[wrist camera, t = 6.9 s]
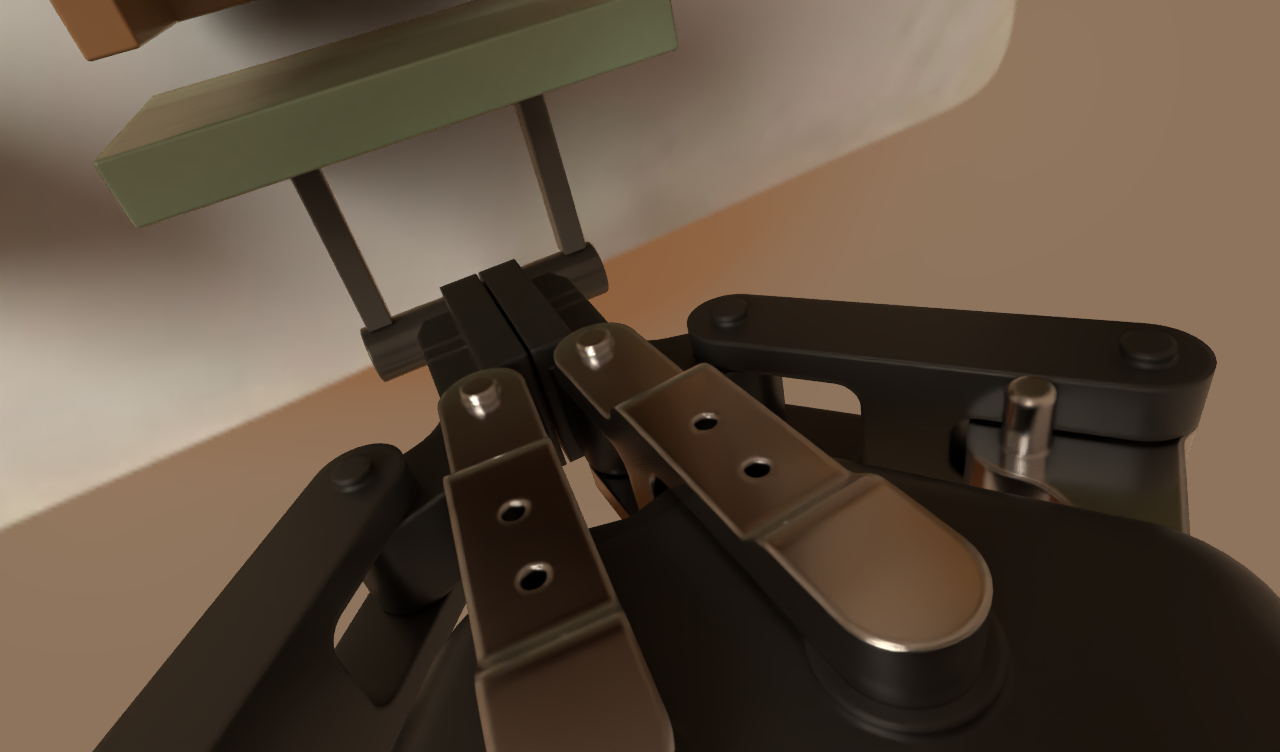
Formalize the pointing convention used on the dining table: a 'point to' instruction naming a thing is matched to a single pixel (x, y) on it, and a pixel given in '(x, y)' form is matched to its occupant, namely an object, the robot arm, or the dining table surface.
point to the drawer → (364, 119)
